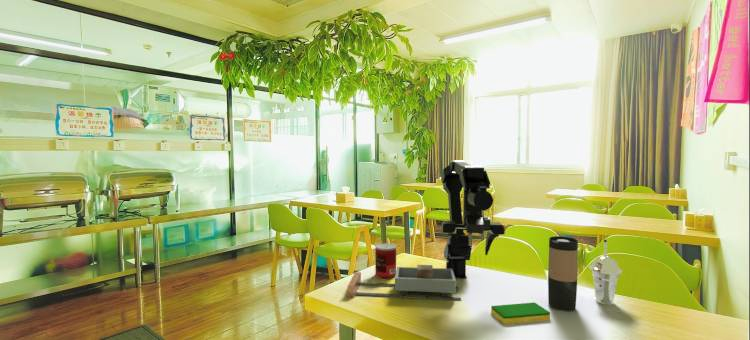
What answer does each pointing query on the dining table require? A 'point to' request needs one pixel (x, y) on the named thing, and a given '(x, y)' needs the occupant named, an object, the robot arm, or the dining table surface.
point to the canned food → (385, 261)
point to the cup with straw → (605, 277)
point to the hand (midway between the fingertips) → (472, 254)
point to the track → (357, 282)
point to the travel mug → (562, 273)
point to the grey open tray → (425, 281)
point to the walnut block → (425, 271)
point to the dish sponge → (520, 313)
